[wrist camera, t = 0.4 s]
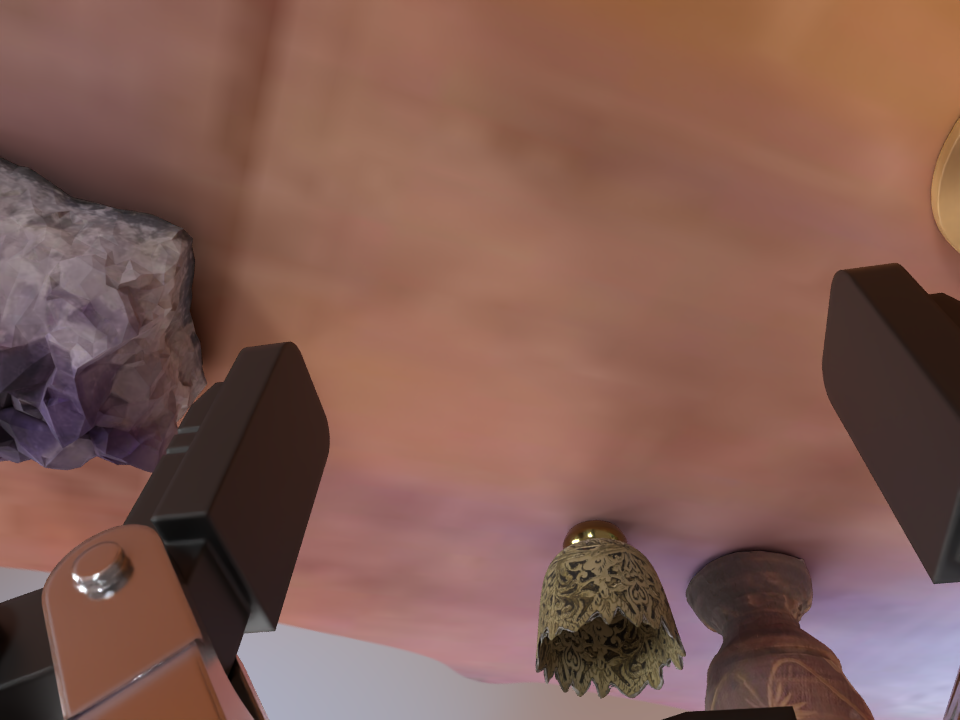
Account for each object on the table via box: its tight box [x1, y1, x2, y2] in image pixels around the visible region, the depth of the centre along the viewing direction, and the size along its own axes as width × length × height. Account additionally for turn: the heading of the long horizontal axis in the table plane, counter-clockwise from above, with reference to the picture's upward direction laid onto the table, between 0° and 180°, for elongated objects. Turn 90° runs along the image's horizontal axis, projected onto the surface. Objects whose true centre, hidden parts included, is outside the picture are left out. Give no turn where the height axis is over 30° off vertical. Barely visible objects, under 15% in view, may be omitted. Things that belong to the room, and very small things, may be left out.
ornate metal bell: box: [536, 520, 686, 698], centre depth 39 cm, size 8×7×8 cm
